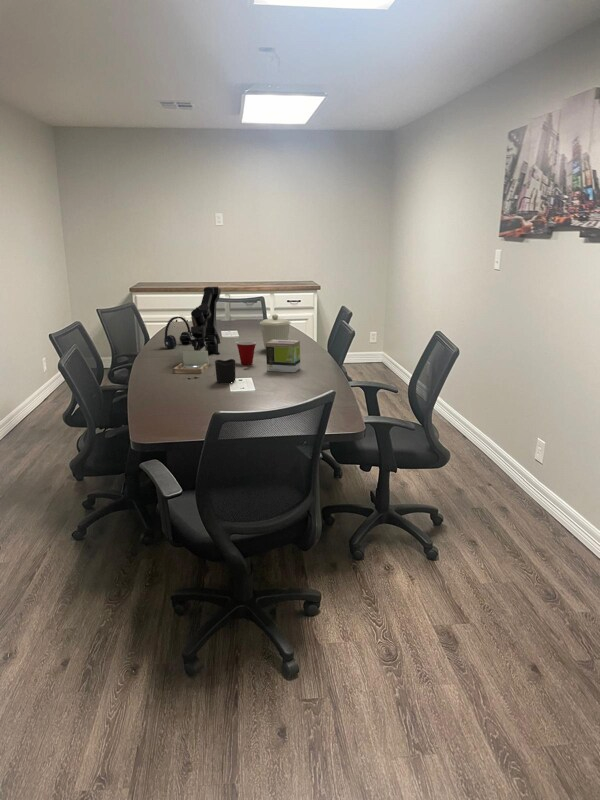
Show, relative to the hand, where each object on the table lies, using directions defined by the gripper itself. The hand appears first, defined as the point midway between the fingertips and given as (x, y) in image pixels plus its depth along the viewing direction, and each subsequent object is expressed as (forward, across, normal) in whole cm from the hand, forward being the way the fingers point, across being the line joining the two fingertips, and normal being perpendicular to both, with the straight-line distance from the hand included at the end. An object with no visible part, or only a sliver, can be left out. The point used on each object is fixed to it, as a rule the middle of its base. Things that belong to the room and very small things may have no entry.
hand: (195, 353), depth 284 cm
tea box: (+7, +46, +4) cm, 47 cm away
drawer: (+10, 0, 0) cm, 10 cm away
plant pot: (-45, -15, +55) cm, 72 cm away
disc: (+10, 0, -1) cm, 10 cm away
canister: (-26, +35, +37) cm, 57 cm away
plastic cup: (-1, +25, +11) cm, 27 cm away
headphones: (-32, -26, +43) cm, 60 cm away
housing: (+12, 0, -2) cm, 12 cm away
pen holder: (+24, +22, -13) cm, 35 cm away
